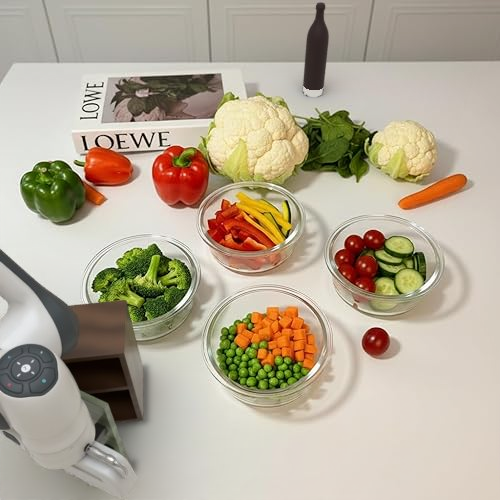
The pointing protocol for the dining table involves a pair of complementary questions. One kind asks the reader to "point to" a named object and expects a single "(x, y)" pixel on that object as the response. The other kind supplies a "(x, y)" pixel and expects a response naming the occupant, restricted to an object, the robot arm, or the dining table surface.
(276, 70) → the dining table surface
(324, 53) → the wine bottle
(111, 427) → the cupboard door
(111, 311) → the cupboard
